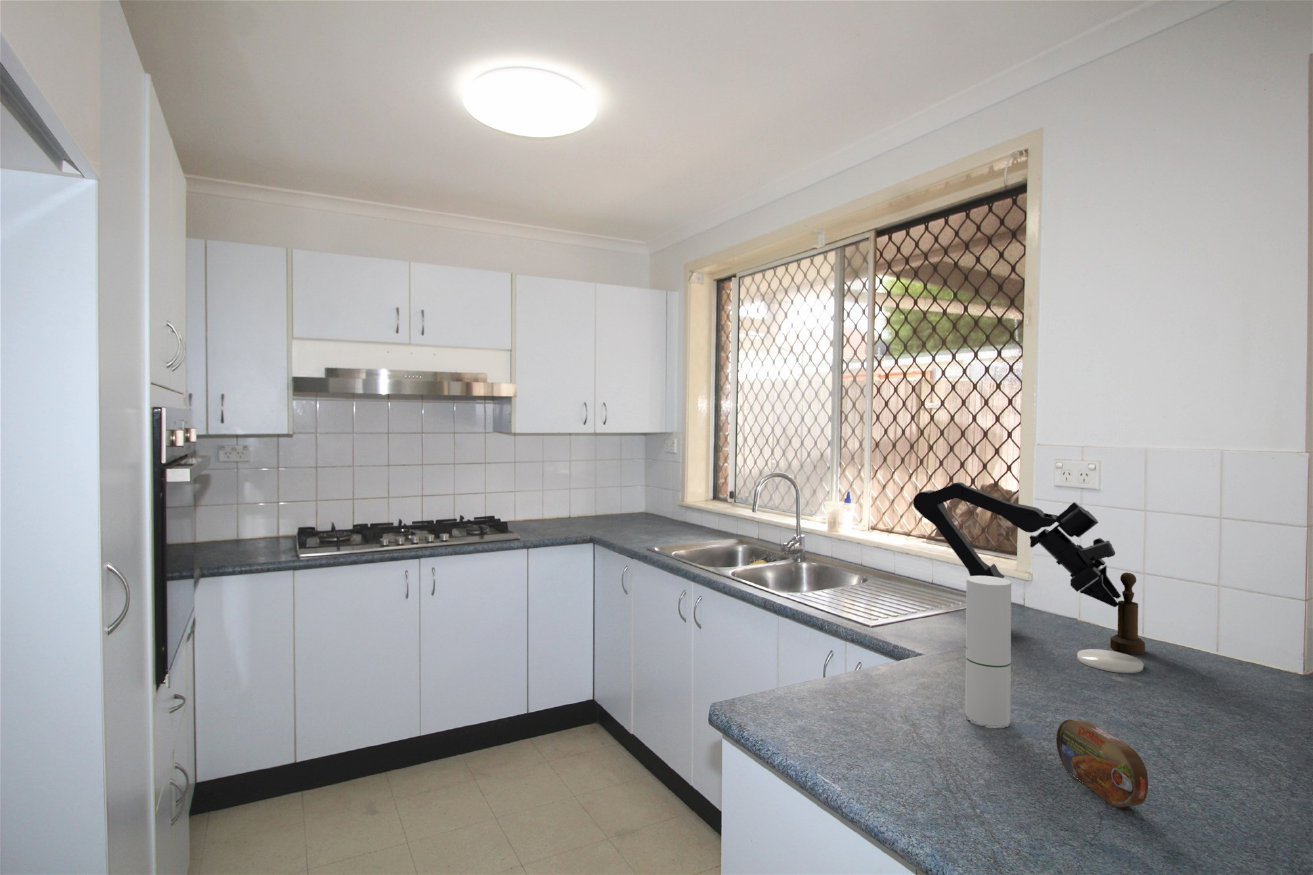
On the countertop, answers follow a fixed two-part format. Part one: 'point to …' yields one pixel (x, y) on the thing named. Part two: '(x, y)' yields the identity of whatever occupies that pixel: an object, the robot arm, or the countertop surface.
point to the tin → (1102, 763)
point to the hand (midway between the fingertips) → (1118, 601)
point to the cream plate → (1110, 661)
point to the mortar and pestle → (1127, 621)
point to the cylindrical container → (988, 649)
